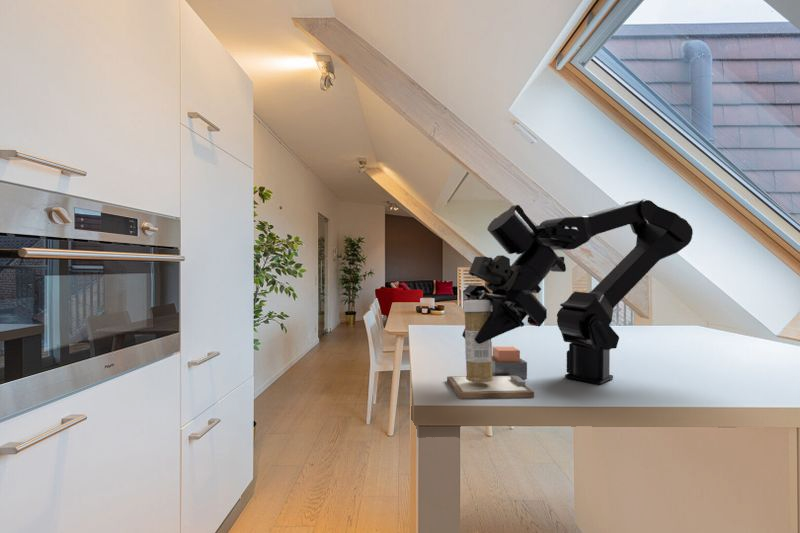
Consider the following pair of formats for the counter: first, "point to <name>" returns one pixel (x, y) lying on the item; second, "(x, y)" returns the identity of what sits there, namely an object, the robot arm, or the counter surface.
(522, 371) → the button housing
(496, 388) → the clipboard
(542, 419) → the counter surface
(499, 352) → the button
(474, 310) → the sprinkles bottle
